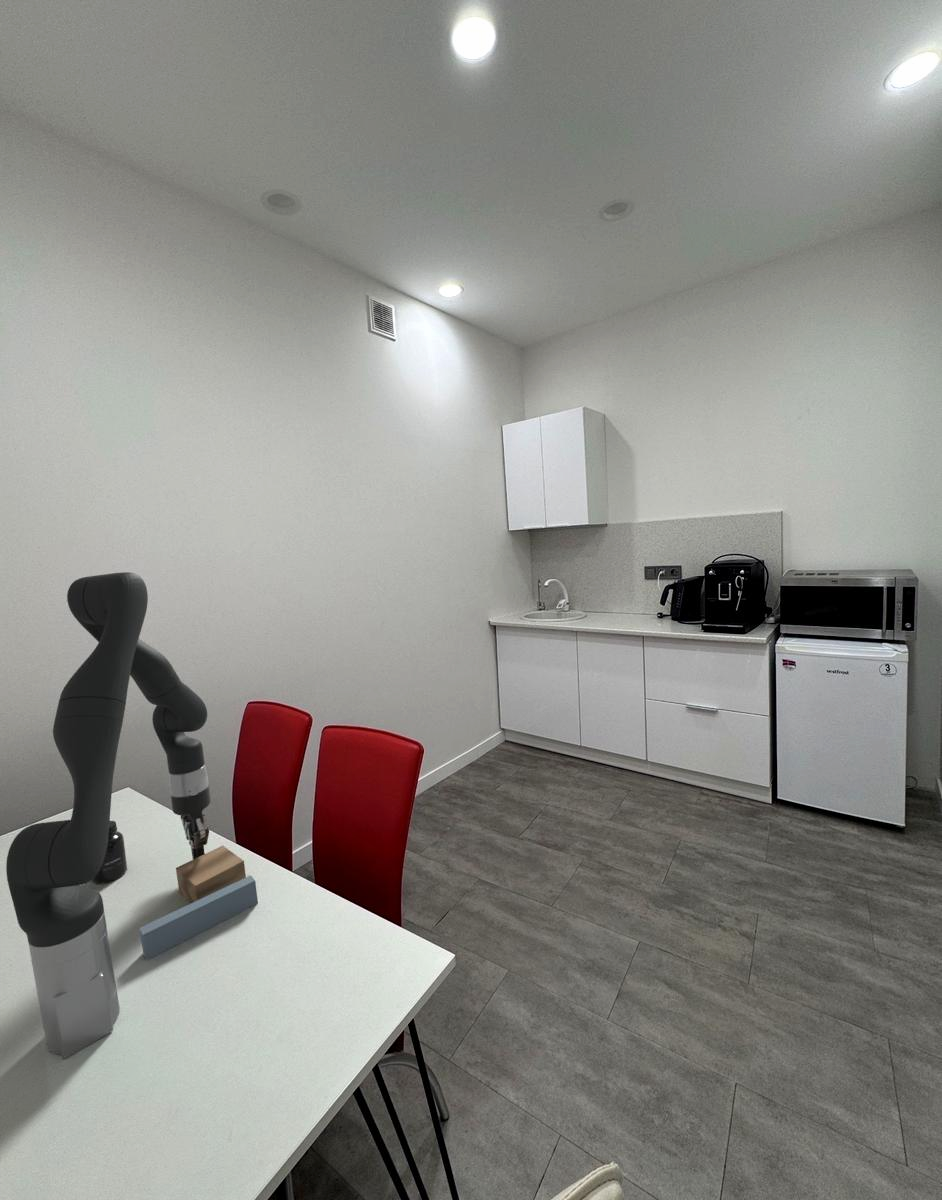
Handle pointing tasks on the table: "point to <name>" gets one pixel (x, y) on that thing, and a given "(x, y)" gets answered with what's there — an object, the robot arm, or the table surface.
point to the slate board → (197, 917)
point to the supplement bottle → (112, 857)
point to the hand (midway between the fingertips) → (199, 860)
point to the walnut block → (209, 874)
